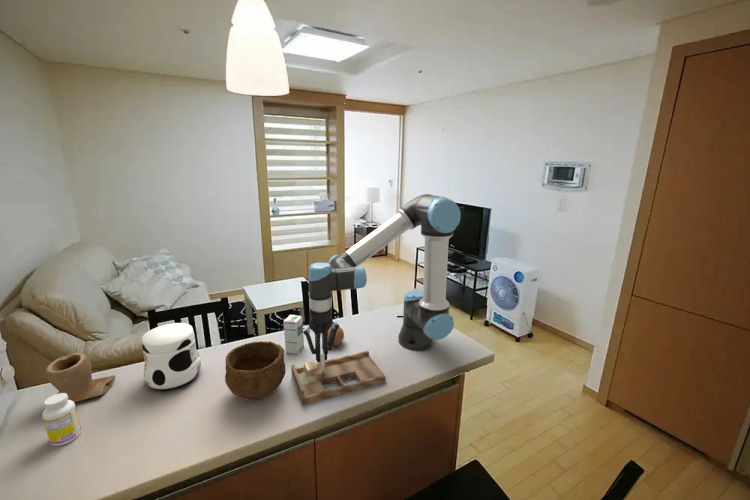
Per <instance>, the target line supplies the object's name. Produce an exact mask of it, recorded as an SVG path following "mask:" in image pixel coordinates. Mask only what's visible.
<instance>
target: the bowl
mask: <svg viewBox="0 0 750 500" xmlns="http://www.w3.org/2000/svg"><path fill="white" fill-rule="evenodd" d="M285 353H286V350H285V349H284V348H283V347H282V345H280V344H277V343H275V342H272V341H253V342H248V343H244V344H241V345H238V346H236V347H235V348H233V349H231V350H230V351H229V352H228V353H227V355H226V356H225V375H224V378H225V380H224V381H225V385H226V386H227V388H228V389H229V391H230V392H231V393H232V394H233V395H234V396H236V397H237V398H240V399H243V400H247V401H259V400H260V401H261V400H264V399H266V398H268V397H269V396H271V395H272V394H274V392H275V391H277V389H278V388H279V387H280V386H281V384H282V382H283V379H284V378H285V375H286V363H285Z"/></svg>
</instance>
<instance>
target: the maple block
mask: <svg viewBox="0 0 750 500" xmlns="http://www.w3.org/2000/svg"><path fill="white" fill-rule="evenodd" d="M303 366H304V373H305V375H306V377H307V380H308V381H309V380H313V379H317V378H321V377H322V367H321V365H320V363H319V362H317V361H316V359H315V360H310V361H306V362H304V363H303Z"/></svg>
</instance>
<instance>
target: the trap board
mask: <svg viewBox="0 0 750 500" xmlns="http://www.w3.org/2000/svg"><path fill="white" fill-rule="evenodd" d="M290 366H291V380H292V382H293V385H294V388H295V391H296V393H297V395H298V396H297V397H298V399H299V402H300V404H301V407H303V406H307V405H311V404H313V403H317V402H321V401H324V400H327V399H332V398H334V397H338V396H343V395H346V394H349V393H352V392H356V391H359V390H363V389H366V388H370V387H373V386H377V385H381V384H384V383H386V379H387V376H386V374H385V373H384V372H383V371H382V370H381V368H380V367H379V366H378V365H377V363H376V362H375V361H374V360H373V358H372V357H371V356H370V351H369V350H365V351H361V352H357V353H351V354H348V355H345V356H344V355H343V356H340V357H339V356H338V357H336V358H335V357H334V358H331V359H330V358H329V359H327V360H326V361H325V370H324V371H322V377H321V378H317V379H313V380H309V381H308V380H307V377H306V375H305V373H304V365H302V366H297V367H296V365H295V364H291V365H290ZM353 378H355V380H356V381H355V382H352V383H348V384H345V383H344V381H346V380H350V379H353ZM335 383H336V384H337V387H334V388H330V389H327V390H325V388H324V386H327V385H331V384H335Z"/></svg>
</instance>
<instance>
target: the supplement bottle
mask: <svg viewBox="0 0 750 500" xmlns="http://www.w3.org/2000/svg"><path fill="white" fill-rule="evenodd" d="M43 404H44V408H45V409H44V410H43V412H42V414H41V417H42V420H43V424H44V427H45V430H46V434H47V438H48V441H49V444H50V445H51V446H54V447H60V446H63V445H66V444H69V443H71V442H73V441H74V440H76V438H78V437H79V436H80V434H82V433H81V432H82V426H81V422H80V419H79V414H78V411H77V406H76V402H73V401H71V400H68V395H67V394H66V393H59V394H57V393H56V394H53V395H51V396H49V397H48V398H46V399H45V400H44V402H43Z"/></svg>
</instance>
